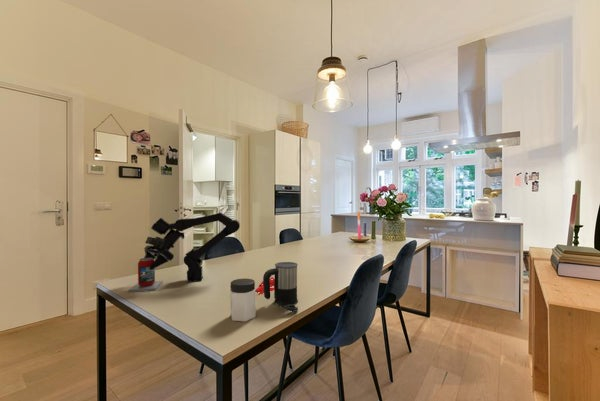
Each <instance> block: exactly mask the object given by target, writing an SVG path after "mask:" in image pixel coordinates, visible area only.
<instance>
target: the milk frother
mask: <svg viewBox="0 0 600 401" xmlns="http://www.w3.org/2000/svg"><path fill="white" fill-rule="evenodd" d="M298 265H299V264H298V263H297V262H294V261H280V262H276V263H274V266H275V268H270V269H268V270H266V271H264V274H263V277H262V282H263V285H264V294H263V296H264V298H265V299H266V300H270V299H271V292H270V279H271V278H272V277H273V276H274V291H273V292H274V293H273V295H274V296H273V298H274V301H273V302H274V303H275V304H276V306H277V307H281V308H283V309H284V310H287V311H289V312H291V311H292V312H291V313H294V312H297V311H298V310H299V308H298V306H296V305H297V303H298V302H299V300H298Z"/></svg>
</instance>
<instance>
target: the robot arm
mask: <svg viewBox="0 0 600 401" xmlns="http://www.w3.org/2000/svg"><path fill="white" fill-rule="evenodd" d="M214 222H220V223H221V225H223V226H225V227H224V228H222V230H221V231H219V232H218V233H217V234H216V235H214V236H213V237H211V238H210V239H209V240H208V241H206V242H205V243H204V244H203V245H201V246H200V247H198V248H196V246H194V247H193V248H192V249H191V250H190V251H187V252H186V253H185V256H184V258H183V264H185V265H186V266H187V268H188V269H187V270H186V275H187V276H186V280H187V282H189V283H190V282H201V281H202V280H203V278H204V276H203V266H202V264H203V262H204V261H203V260H202V256H203V255H204V254H205V253H206V252H208V251H209V250H210V249H212V248H214V246H215V245H217V244H218V243H220V242H221V241H223V239H225V238H226V237H229V236H230V235H232V234H234V233H236V232H238V231H239V229H240V227H241V223H240V221H239V220H238V219H232V218H231V217H229V216H228V215H226V214H224V213H222V212H217V213H214V214H210V215H205V216H199V217H193V218H191V217H190V218H189V217H188V218H180V219H177V220H176V221H175V222H172V223H169V222H167V221H166V220H165V219H164V218H162V217H160V218H159V219H158V220H156V222H155V223H153V225H152V226H151V228H150V229H151V230H153V231H154V232H156V233H157V234H158V235H160V236H162V235H164V237H163V238H161V237H159V236H155V237H153V236H147V238H146V240H145V242H144V244H148V245H146V246H145V247H144V248H143V249H144V253H145V255H144V257H143V258H153V260H154V262H153V264H152V265H151V267H150V268H149V269H150V270H152V269H154V268H155V269H156V268H157V267H159V266H161V265H163V264H166V263H168V262H169V261H170V262H171V261H172V260H173V259H174V258H175V257H174V254H173V253H172V252H171V251H170V250H171V249H173V248H174V247H175V246H174V245H175V244H176V243H177V241H179V239H182V240H184V239H185V232H183V231H185V230H188V229H190V228H193V227H195V226H200V225H205V224H210V223H214Z"/></svg>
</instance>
